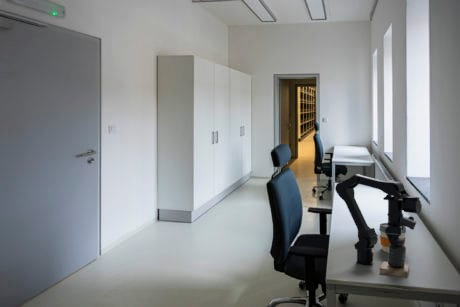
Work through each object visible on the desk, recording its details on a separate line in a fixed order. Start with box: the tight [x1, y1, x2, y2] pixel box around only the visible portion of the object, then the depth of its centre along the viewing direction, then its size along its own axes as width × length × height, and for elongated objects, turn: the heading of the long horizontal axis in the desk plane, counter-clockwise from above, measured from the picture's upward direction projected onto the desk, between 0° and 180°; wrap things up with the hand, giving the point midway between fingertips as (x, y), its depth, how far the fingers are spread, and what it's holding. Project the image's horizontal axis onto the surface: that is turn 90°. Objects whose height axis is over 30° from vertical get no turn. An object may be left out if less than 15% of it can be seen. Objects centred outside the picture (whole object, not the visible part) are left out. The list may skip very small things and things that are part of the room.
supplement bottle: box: [387, 238, 407, 268], centre depth 179 cm, size 7×7×12 cm
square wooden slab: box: [379, 261, 410, 278], centre depth 179 cm, size 11×11×3 cm
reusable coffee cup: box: [378, 222, 407, 254], centre depth 206 cm, size 13×13×15 cm
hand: (394, 246), depth 179 cm, fingers open, 9 cm apart
